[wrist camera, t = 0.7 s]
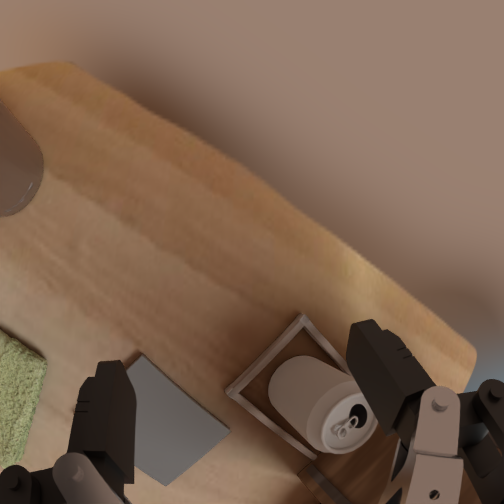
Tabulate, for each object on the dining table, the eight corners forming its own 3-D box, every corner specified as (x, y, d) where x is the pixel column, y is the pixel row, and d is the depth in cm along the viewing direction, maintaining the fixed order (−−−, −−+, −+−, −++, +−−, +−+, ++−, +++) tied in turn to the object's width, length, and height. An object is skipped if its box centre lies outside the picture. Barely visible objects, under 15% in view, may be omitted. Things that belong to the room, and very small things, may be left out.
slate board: (77, 416, 28) (76, 419, 27) (142, 353, 30) (142, 355, 29) (165, 482, 30) (165, 486, 29) (229, 428, 33) (231, 431, 32)
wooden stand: (204, 408, 32) (311, 605, 7) (317, 293, 36) (539, 323, 12) (301, 477, 35) (423, 599, 10) (390, 381, 39) (550, 441, 15)
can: (332, 389, 37) (394, 426, 25) (281, 423, 34) (331, 474, 23) (310, 341, 36) (375, 369, 24) (254, 375, 34) (302, 422, 22)
